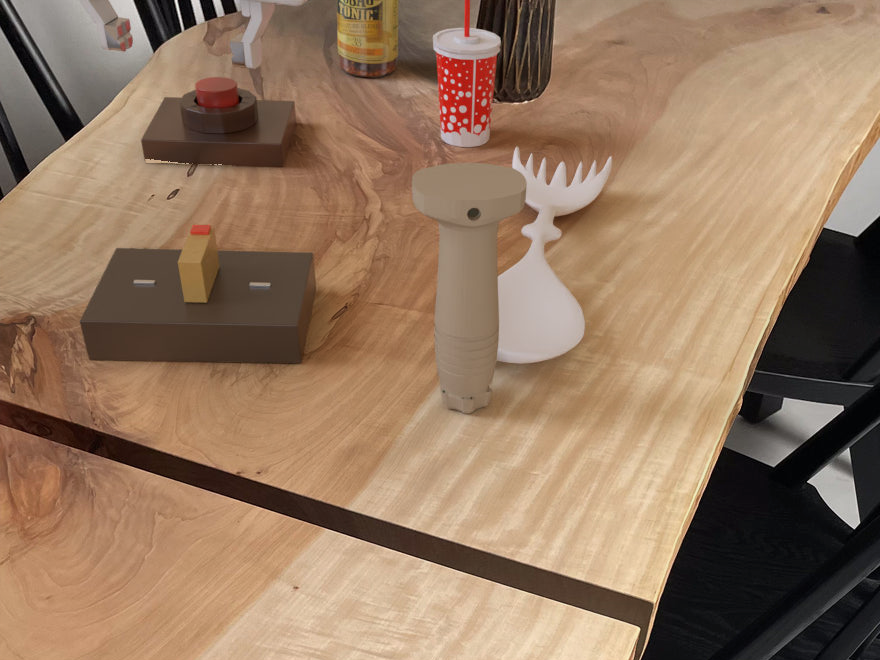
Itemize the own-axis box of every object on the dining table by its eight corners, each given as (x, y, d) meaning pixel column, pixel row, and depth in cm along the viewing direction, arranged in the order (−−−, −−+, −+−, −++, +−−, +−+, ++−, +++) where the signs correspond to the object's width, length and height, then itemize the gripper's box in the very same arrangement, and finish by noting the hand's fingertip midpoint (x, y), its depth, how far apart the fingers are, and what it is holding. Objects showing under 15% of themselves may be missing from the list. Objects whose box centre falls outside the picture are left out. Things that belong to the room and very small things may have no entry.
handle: (412, 382, 73) (408, 164, 63) (509, 378, 74) (519, 162, 64) (418, 425, 69) (415, 201, 59) (519, 420, 70) (532, 198, 60)
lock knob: (207, 302, 73) (200, 258, 71) (184, 302, 73) (176, 258, 71) (219, 266, 77) (213, 223, 75) (198, 265, 77) (191, 223, 75)
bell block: (145, 164, 96) (136, 119, 94) (168, 120, 104) (161, 77, 101) (283, 168, 97) (279, 123, 94) (296, 124, 104) (292, 81, 102)
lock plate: (88, 360, 73) (78, 318, 71) (123, 284, 81) (115, 245, 78) (301, 363, 74) (297, 323, 72) (316, 289, 81) (313, 250, 79)
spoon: (612, 189, 97) (616, 151, 94) (574, 393, 72) (579, 348, 70) (511, 178, 97) (512, 140, 95) (440, 377, 73) (440, 332, 71)
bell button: (194, 110, 96) (191, 90, 95) (201, 95, 99) (199, 76, 98) (236, 112, 97) (233, 92, 96) (242, 96, 99) (240, 77, 98)
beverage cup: (488, 122, 107) (493, -33, 97) (504, 148, 102) (511, -13, 93) (426, 126, 105) (425, -32, 96) (440, 152, 101) (440, -11, 92)
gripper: (-42, -189, 65) (16, 53, 74) (288, -155, 62) (306, 91, 71) (17, -205, 69) (65, 24, 78) (327, -174, 67) (339, 60, 76)
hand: (182, 57), depth 75 cm, fingers open, 8 cm apart
